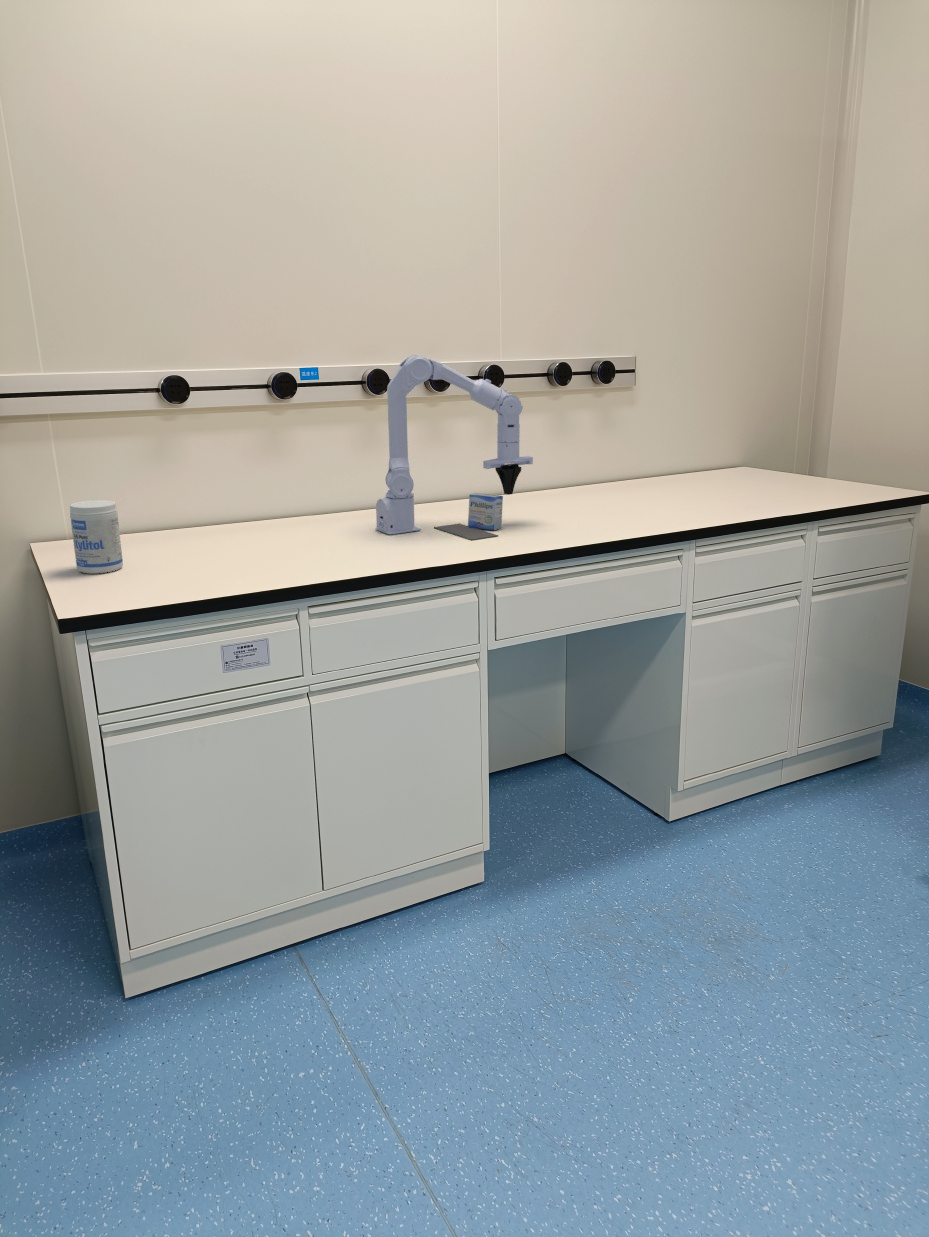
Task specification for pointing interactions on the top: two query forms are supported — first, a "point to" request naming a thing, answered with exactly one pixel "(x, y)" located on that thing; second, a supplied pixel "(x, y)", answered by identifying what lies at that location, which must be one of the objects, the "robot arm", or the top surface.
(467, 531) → the rubber mat
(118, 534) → the supplement tub
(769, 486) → the top surface
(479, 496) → the medicine box
